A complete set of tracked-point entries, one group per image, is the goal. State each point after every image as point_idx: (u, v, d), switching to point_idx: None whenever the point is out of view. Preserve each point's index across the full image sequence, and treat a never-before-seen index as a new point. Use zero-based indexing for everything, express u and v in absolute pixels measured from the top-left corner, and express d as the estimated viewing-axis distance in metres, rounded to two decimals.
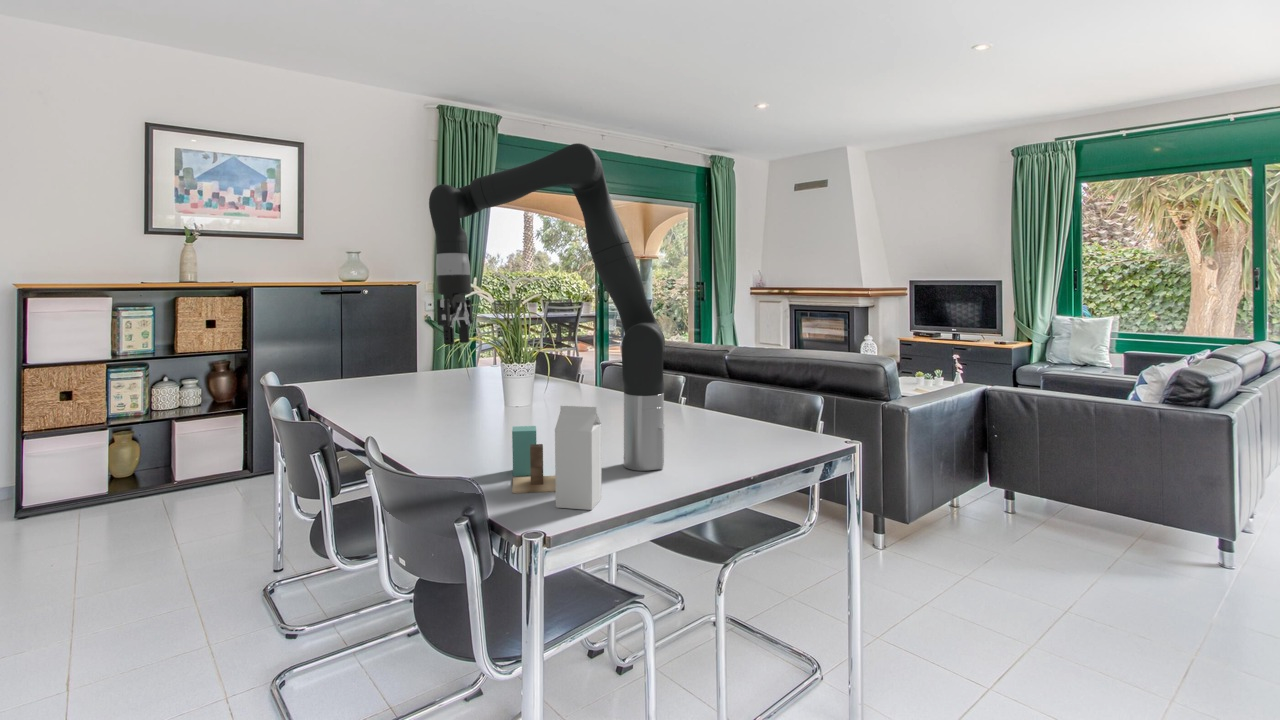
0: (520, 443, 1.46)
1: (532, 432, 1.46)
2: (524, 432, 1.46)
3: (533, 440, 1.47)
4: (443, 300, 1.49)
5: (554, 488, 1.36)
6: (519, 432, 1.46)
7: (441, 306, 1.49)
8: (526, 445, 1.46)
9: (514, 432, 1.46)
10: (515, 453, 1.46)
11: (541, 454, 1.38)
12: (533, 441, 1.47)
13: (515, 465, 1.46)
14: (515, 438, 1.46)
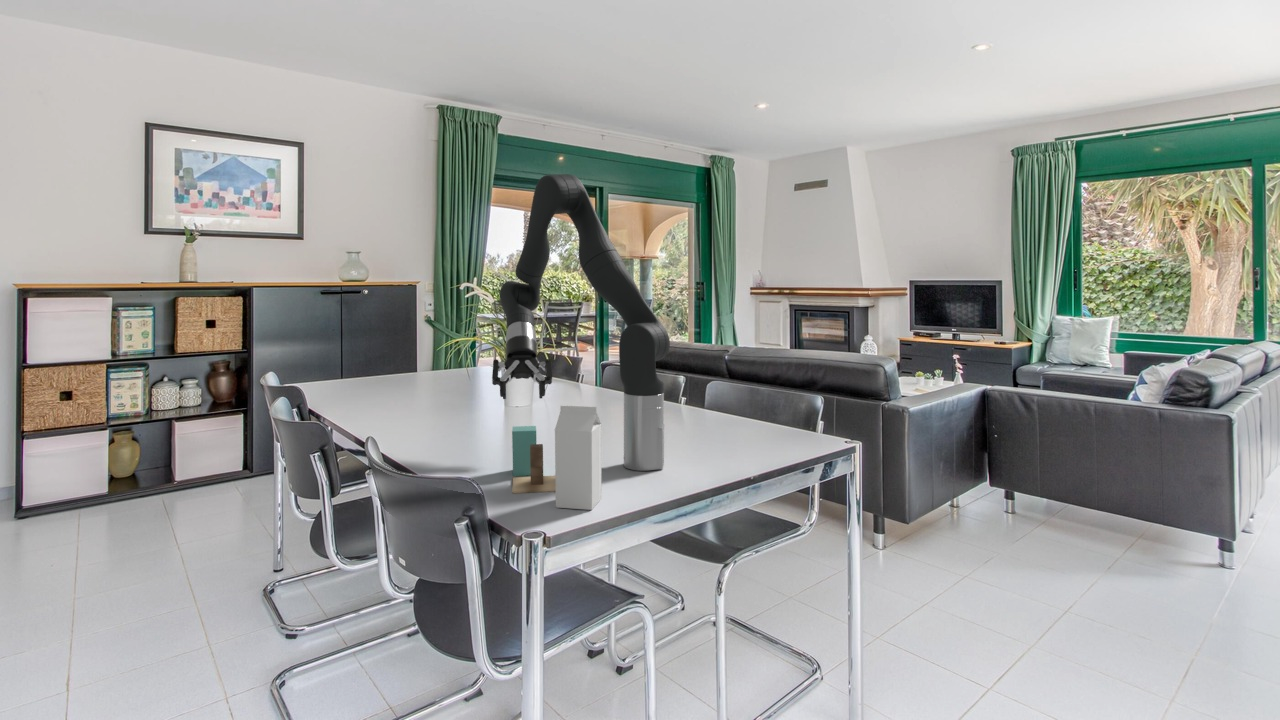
0: (520, 443, 1.46)
1: (532, 432, 1.46)
2: (524, 432, 1.46)
3: (533, 440, 1.47)
4: None
5: (554, 488, 1.36)
6: (519, 432, 1.46)
7: None
8: (526, 445, 1.46)
9: (514, 432, 1.46)
10: (515, 453, 1.46)
11: (541, 454, 1.38)
12: (533, 441, 1.47)
13: (515, 465, 1.46)
14: (515, 438, 1.46)
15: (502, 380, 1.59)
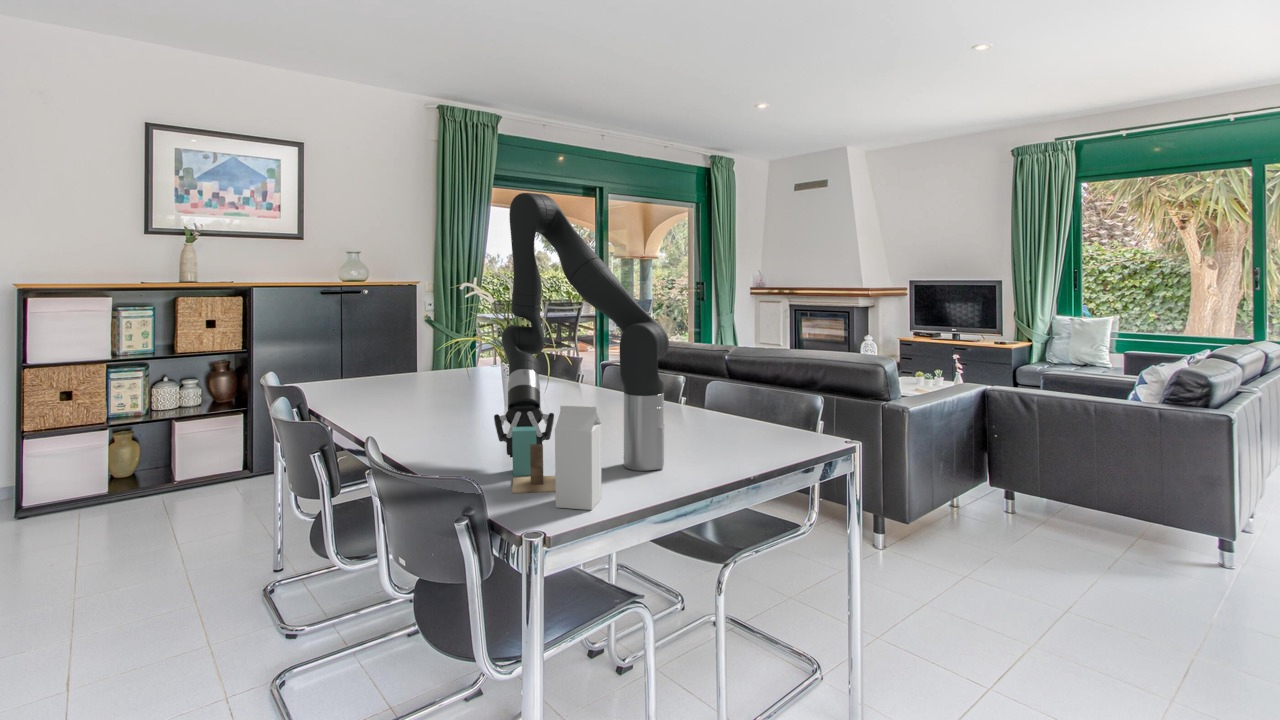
0: (520, 443, 1.46)
1: (532, 432, 1.46)
2: (524, 432, 1.46)
3: (533, 440, 1.47)
4: (494, 418, 1.52)
5: (554, 488, 1.36)
6: (519, 432, 1.46)
7: (495, 424, 1.52)
8: (526, 445, 1.46)
9: (514, 432, 1.46)
10: (515, 453, 1.46)
11: (541, 454, 1.38)
12: (533, 441, 1.47)
13: (515, 465, 1.46)
14: (515, 438, 1.46)
15: (509, 437, 1.48)
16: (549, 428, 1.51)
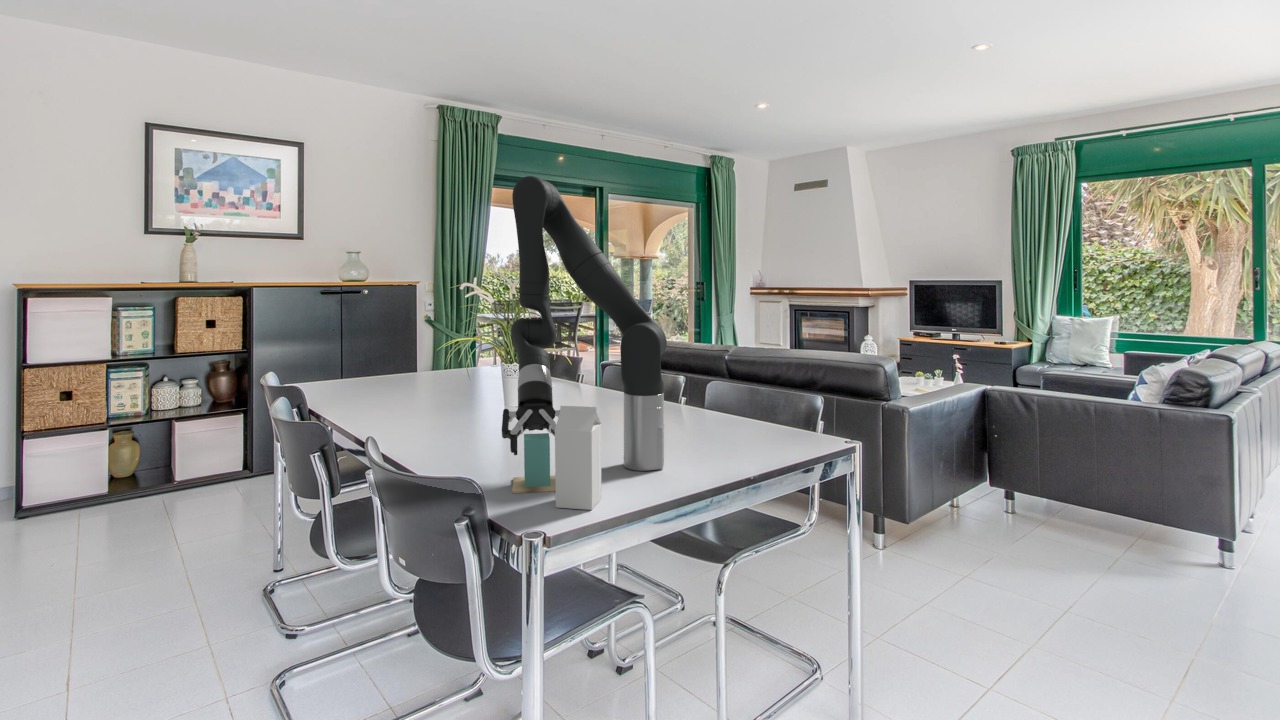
0: (532, 452, 1.37)
1: (545, 440, 1.37)
2: (537, 440, 1.37)
3: (546, 449, 1.37)
4: None
5: (554, 488, 1.36)
6: (531, 440, 1.36)
7: None
8: (539, 454, 1.37)
9: (526, 440, 1.36)
10: (527, 463, 1.37)
11: None
12: (546, 450, 1.37)
13: (527, 475, 1.37)
14: (527, 447, 1.36)
15: (513, 433, 1.39)
16: None
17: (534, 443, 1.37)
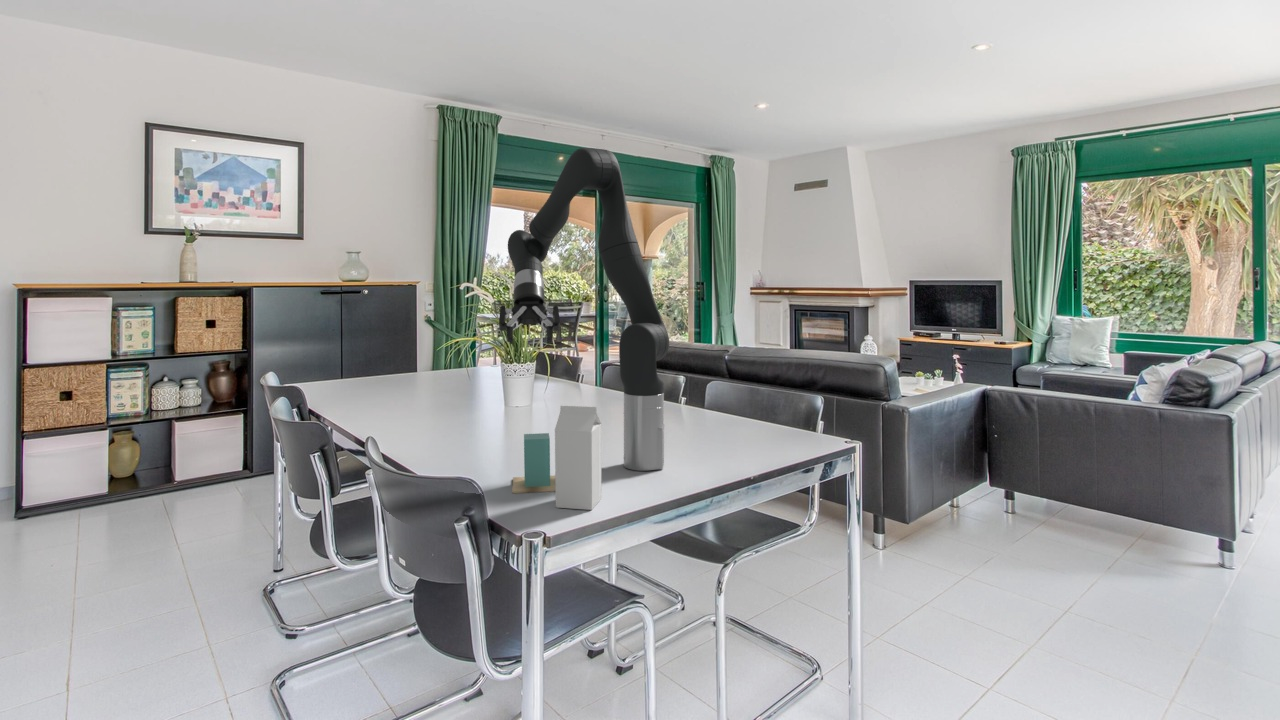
0: (532, 452, 1.37)
1: (545, 440, 1.37)
2: (537, 440, 1.37)
3: (546, 449, 1.37)
4: None
5: (554, 488, 1.36)
6: (531, 440, 1.36)
7: None
8: (539, 454, 1.37)
9: (526, 440, 1.36)
10: (527, 463, 1.37)
11: None
12: (546, 450, 1.37)
13: (527, 475, 1.37)
14: (527, 447, 1.36)
15: (509, 325, 1.56)
16: (558, 318, 1.59)
17: (534, 443, 1.37)
